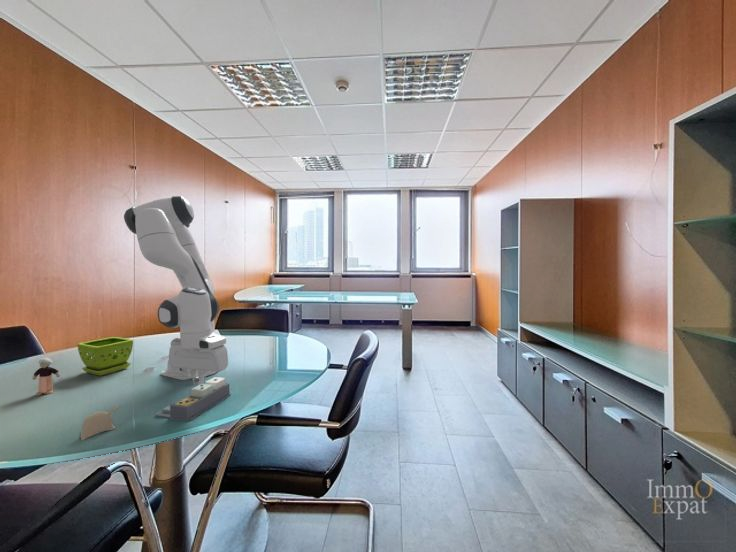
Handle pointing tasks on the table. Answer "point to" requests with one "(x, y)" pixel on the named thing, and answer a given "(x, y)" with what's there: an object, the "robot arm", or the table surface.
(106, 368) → the flower pot
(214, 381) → the tile one
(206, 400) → the console
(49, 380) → the grandmother figurine
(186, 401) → the tile three
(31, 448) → the table surface
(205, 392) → the tile two
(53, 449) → the table surface
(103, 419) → the decorative ornament
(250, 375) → the table surface
